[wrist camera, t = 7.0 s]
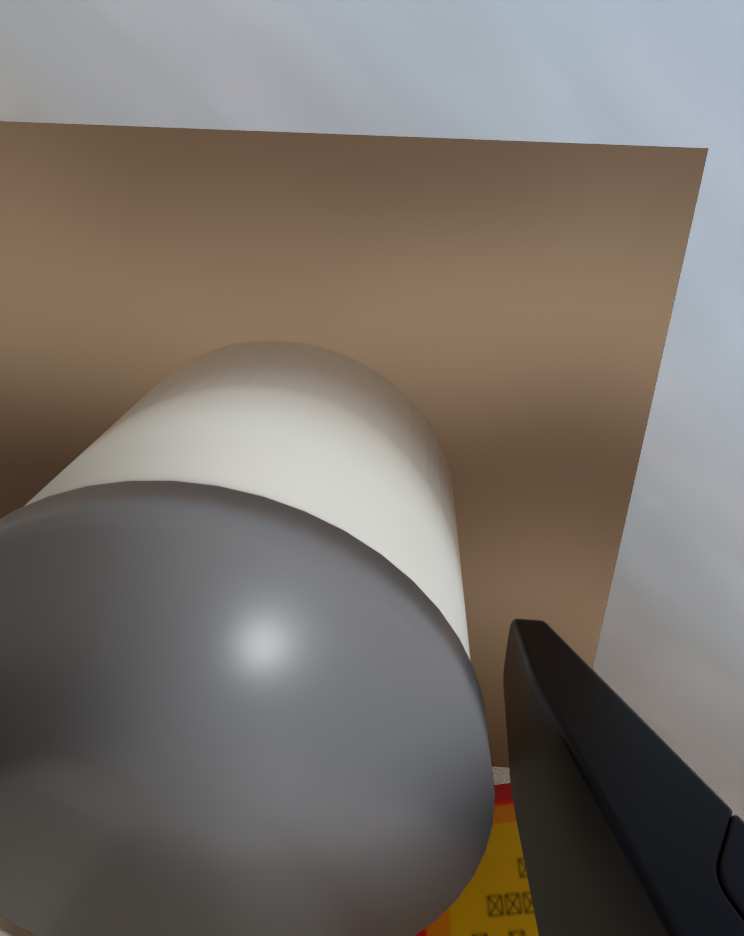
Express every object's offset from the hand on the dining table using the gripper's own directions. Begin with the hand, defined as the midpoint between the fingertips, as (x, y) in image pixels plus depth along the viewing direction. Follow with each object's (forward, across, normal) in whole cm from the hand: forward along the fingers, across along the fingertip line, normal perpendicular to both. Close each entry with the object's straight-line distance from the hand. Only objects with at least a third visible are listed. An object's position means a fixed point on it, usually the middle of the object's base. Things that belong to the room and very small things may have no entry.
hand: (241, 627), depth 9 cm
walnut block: (+7, 0, 0) cm, 7 cm away
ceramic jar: (+3, 0, 0) cm, 3 cm away
